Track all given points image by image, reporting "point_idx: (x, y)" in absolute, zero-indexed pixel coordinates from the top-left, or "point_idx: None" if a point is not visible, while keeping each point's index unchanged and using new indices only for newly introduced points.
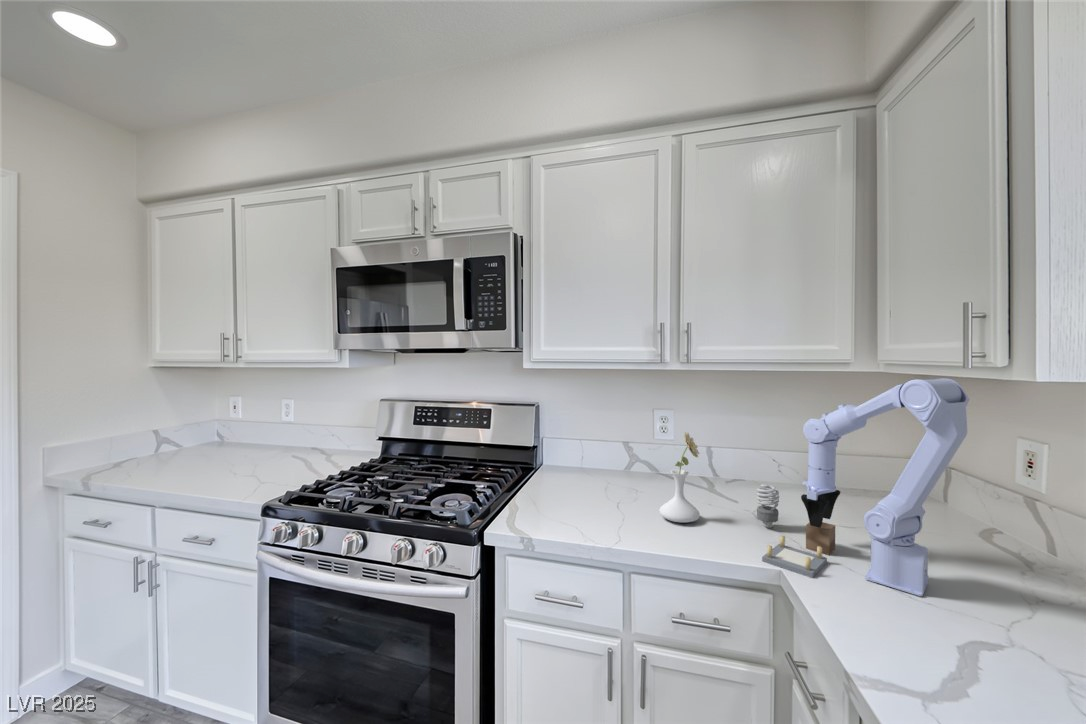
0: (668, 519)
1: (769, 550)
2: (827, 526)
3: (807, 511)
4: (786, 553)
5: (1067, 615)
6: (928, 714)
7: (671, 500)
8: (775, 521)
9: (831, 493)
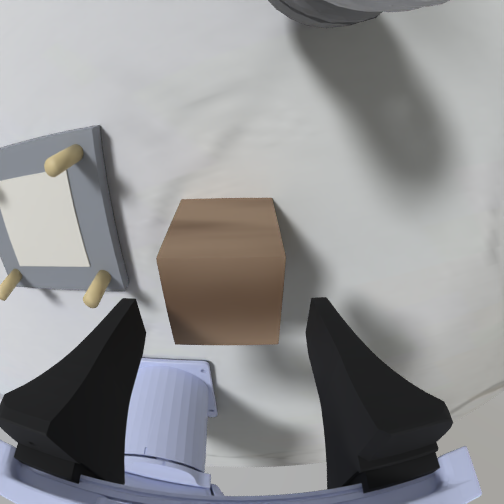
0: None
1: None
2: (229, 329)
3: (72, 352)
4: (35, 195)
5: (255, 465)
6: None
7: None
8: (300, 22)
9: (337, 477)
